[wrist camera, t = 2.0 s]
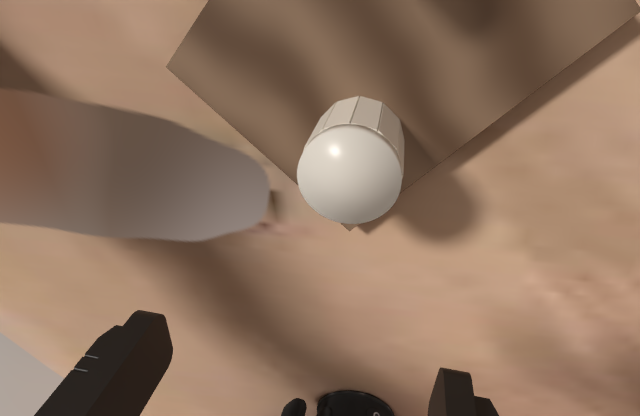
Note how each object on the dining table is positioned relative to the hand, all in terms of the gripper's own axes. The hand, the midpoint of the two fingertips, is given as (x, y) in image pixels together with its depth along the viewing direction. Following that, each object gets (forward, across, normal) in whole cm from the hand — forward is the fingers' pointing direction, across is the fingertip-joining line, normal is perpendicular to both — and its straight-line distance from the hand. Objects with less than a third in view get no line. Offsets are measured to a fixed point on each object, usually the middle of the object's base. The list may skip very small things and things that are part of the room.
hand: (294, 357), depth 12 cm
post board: (+20, 0, -5) cm, 21 cm away
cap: (+19, 0, +1) cm, 19 cm away
